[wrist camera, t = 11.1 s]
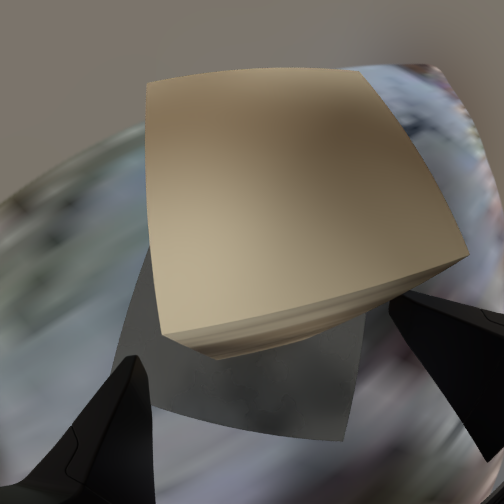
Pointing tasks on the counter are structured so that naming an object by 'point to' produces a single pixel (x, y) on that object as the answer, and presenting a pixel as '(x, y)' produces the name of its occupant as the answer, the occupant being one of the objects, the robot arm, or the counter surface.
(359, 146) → the birch post
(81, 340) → the counter surface
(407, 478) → the counter surface
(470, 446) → the counter surface
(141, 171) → the counter surface
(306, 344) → the post plate
